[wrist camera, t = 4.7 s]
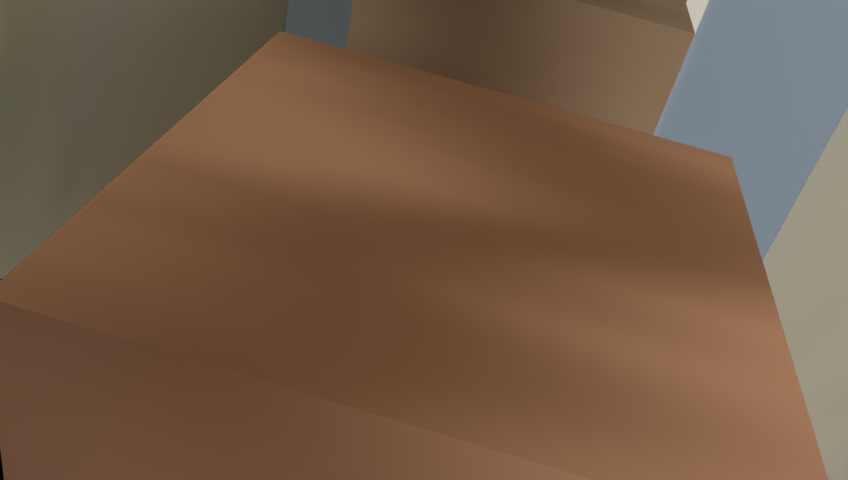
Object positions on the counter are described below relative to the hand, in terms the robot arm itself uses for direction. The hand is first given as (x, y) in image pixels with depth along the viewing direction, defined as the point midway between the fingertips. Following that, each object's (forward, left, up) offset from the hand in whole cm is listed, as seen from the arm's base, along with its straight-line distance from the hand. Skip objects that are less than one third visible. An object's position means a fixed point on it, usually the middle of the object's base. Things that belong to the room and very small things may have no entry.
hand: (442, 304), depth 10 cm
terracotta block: (0, 0, -1) cm, 1 cm away
